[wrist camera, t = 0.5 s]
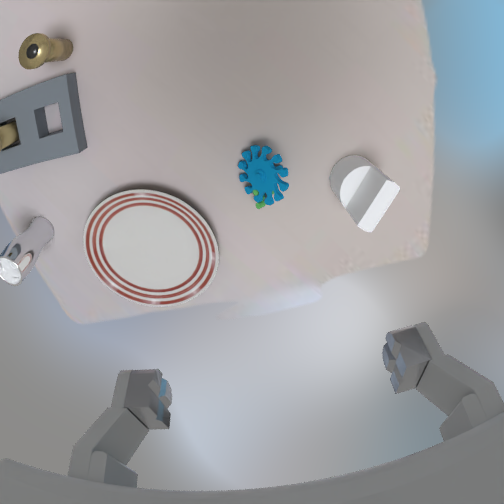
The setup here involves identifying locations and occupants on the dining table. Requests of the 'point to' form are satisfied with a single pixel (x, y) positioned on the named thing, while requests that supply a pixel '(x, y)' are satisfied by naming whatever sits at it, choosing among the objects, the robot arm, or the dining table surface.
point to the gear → (263, 175)
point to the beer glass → (24, 251)
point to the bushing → (43, 50)
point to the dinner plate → (150, 248)
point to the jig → (40, 124)
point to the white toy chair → (362, 190)
